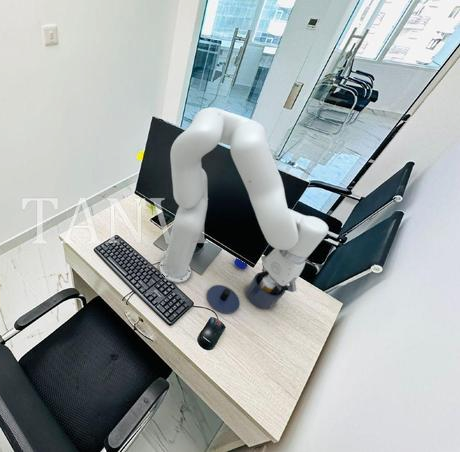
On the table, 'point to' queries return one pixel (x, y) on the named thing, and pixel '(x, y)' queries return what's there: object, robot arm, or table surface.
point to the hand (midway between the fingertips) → (268, 285)
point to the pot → (261, 294)
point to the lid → (223, 299)
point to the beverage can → (240, 264)
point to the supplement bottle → (268, 284)
